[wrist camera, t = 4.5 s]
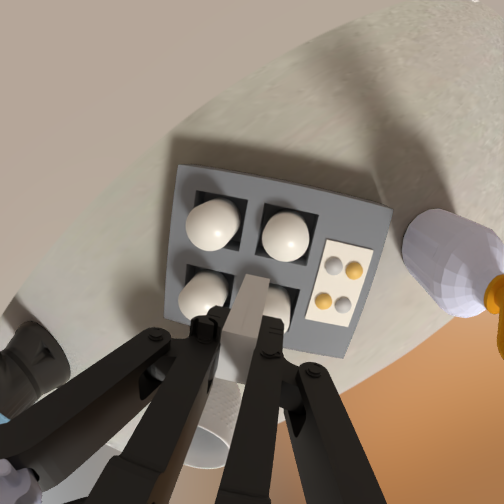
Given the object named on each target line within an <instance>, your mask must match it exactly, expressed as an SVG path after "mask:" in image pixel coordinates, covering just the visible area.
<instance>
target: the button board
mask: <svg viewBox="0 0 504 504" xmlns="http://www.w3.org/2000/svg"><path fill="white" fill-rule="evenodd" d="M215 198H226V199H228V200H230V201H232V202H233V203H234V204H235V205H236V206H237V207H238V209H239V211H240V214H241V224H240V227H239V229H238V231H237V232H236V233H235V234H234V236H233V237H232V238H231V239H230V240H229V242H228V243H227V244H226V245H225V246H224V247H222V248H221V249H218V250H215V251H205V250H202V249H199V248H198V247H196V246H195V245H194V244H193V243H192V242H191V241H190V239H189V238H188V235H187V232H186V220H187V217H188V215H189V213H190V212H191V211H192V210H193V209H194V208H195V207H197V206H199V205H201V204H203V203H205V202H207V201H210V200H212V199H215ZM281 209H292V210H295V211H297V212H299V213H300V214H301V215H302V216H303V217H304V219H305V220H306V223H307V228H308V233H309V244H308V248H307V250H306V251H305V253H304V254H303V255H302V256H301V257H299V258H298V259H296V260H293V261H289V262H283V261H278V260H276V259H274V258H272V257H271V256H270V255H269V254H268V253H267V252H266V250H265V249H264V246H263V243H262V234H263V231H264V229H265V226H266V224H267V222H268V220H269V218H270V217H271V216H272V215H273V214H274V213H275V212H277V211H278V210H281ZM392 214H393V209H391V208H389V207H387V206H385V205H383V204H381V203H377V202H373V201H370V200H366V199H362V198H358V197H354V196H350V195H346V194H342V193H338V192H334V191H330V190H326V189H322V188H317V187H313V186H308V185H304V184H299V183H295V182H290V181H285V180H280V179H275V178H270V177H265V176H260V175H255V174H249V173H244V172H238V171H232V170H227V169H220V168H214V167H208V166H201V165H195V164H179V165H178V169H177V176H176V183H175V191H174V199H173V207H172V216H171V225H170V235H169V245H168V257H167V270H166V284H165V302H164V318H165V319H169V320H172V321H176V322H179V323H183V324H186V325H190V324H191V320H189V319H188V318H186V317H185V316H184V315H183V313H182V312H181V310H180V308H179V304H178V297H179V294H180V292H181V291H182V290H183V289H184V287H185V286H186V285H187V284H188V283H189V282H190V280H191V279H192V278H193V277H194V276H195V275H196V274H197V273H198V272H199V271H201V270H204V269H211V270H215V271H218V272H220V273H221V274H223V275H224V277H225V278H226V279H227V281H228V284H229V294H228V297H227V298H226V300H225V302H224V304H223V306H222V307H226V308H230V309H231V308H232V306H233V303H234V301H235V299H236V296H237V294H238V292H239V289H240V287H241V285H242V282H243V280H244V278H245V275H246V274H249V275H254V276H258V277H263V278H268V279H270V282H269V283H273V284H277V285H281V286H282V287H284V288H285V289H286V290H287V291H288V293H289V295H290V298H291V307H290V323H289V327H288V329H287V331H286V332H285V333H284V335H283V336H284V337H283V348H286V349H291V350H296V351H301V352H307V353H312V354H318V355H323V356H329V357H335V358H342V359H343V358H344V356H345V353H346V351H347V349H348V346H349V344H350V341H351V339H352V336H353V334H354V331H355V329H356V326H357V324H358V321H359V318H360V316H361V313H362V310H363V308H364V305H365V302H366V299H367V296H368V294H369V291H370V288H371V285H372V282H373V279H374V276H375V273H376V270H377V266H378V263H379V260H380V257H381V253H382V250H383V247H384V243H385V240H386V236H387V233H388V229H389V225H390V222H391V218H392Z"/></svg>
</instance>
